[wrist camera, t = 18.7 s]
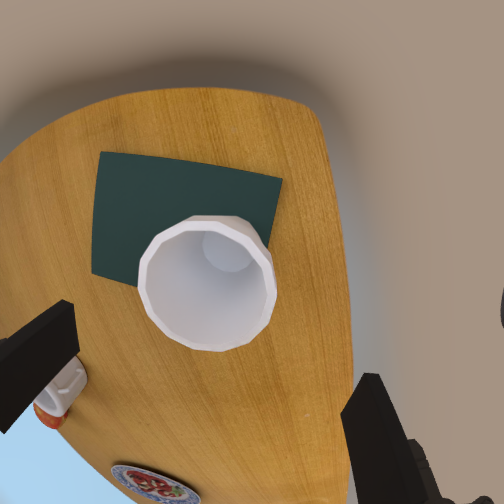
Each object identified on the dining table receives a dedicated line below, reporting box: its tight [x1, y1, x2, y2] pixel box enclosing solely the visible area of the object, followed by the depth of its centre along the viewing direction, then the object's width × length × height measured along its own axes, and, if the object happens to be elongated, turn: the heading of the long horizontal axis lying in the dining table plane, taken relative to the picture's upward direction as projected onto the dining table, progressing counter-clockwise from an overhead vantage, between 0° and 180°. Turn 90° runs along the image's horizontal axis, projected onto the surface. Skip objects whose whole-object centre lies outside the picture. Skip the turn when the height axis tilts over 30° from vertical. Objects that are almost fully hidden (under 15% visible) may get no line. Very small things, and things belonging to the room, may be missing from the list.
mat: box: [92, 151, 282, 287], centre depth 30 cm, size 22×16×1 cm
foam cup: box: [138, 216, 277, 352], centre depth 24 cm, size 10×9×13 cm
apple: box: [33, 403, 68, 429], centre depth 39 cm, size 8×8×8 cm
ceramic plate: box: [111, 465, 201, 504], centre depth 49 cm, size 26×26×3 cm
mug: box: [33, 356, 87, 417], centre depth 34 cm, size 14×11×10 cm
